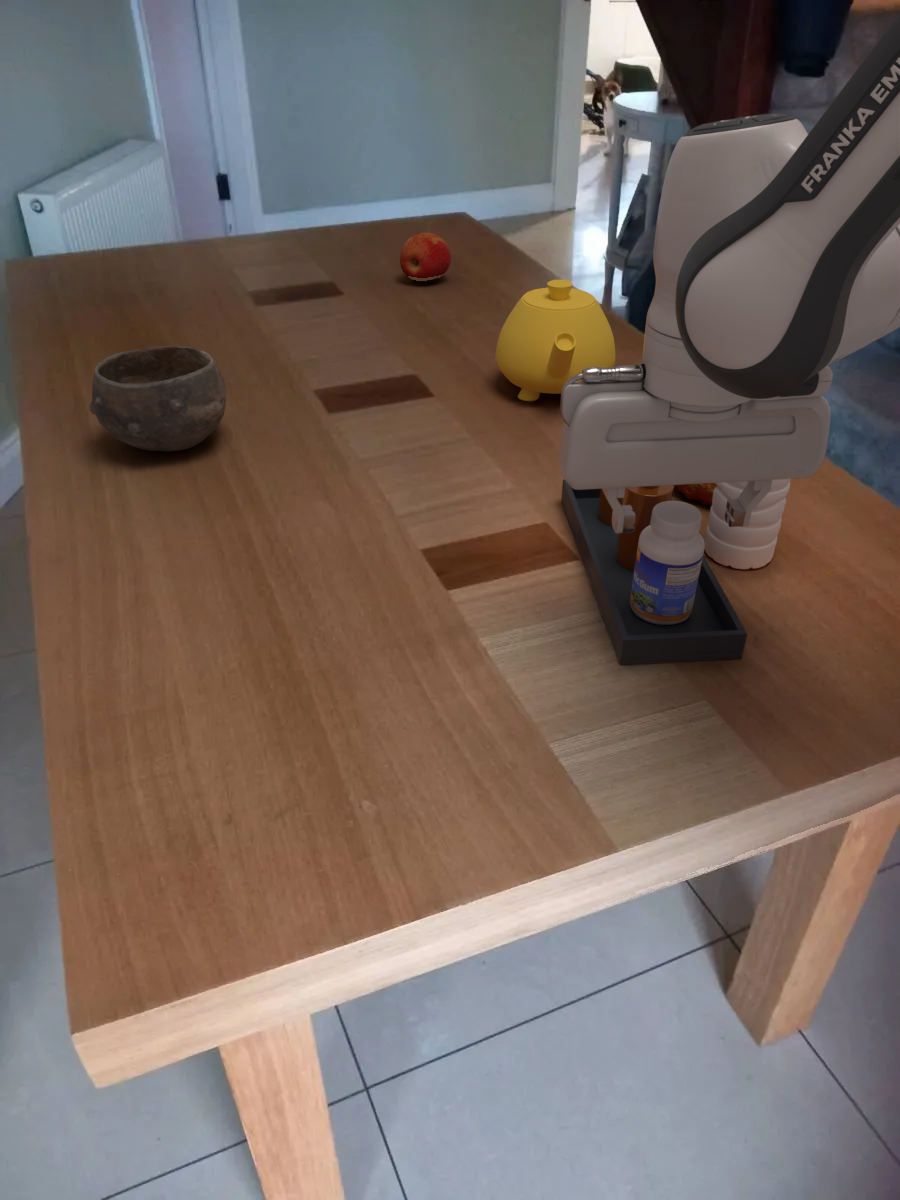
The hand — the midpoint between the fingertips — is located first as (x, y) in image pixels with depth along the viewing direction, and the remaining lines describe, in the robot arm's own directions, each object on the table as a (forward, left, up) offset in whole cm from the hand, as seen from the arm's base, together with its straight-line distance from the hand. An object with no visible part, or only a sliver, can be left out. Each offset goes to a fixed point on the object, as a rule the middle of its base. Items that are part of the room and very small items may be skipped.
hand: (679, 526), depth 75 cm
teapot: (+1, -49, -9) cm, 50 cm away
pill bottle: (0, 0, -9) cm, 9 cm away
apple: (+16, -100, -9) cm, 101 cm away
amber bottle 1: (0, -16, -9) cm, 18 cm away
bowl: (+49, -38, -9) cm, 63 cm away
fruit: (-12, -22, -9) cm, 27 cm away
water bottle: (-11, -10, -9) cm, 18 cm away
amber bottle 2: (0, -8, -9) cm, 12 cm away
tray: (0, -7, -9) cm, 12 cm away
